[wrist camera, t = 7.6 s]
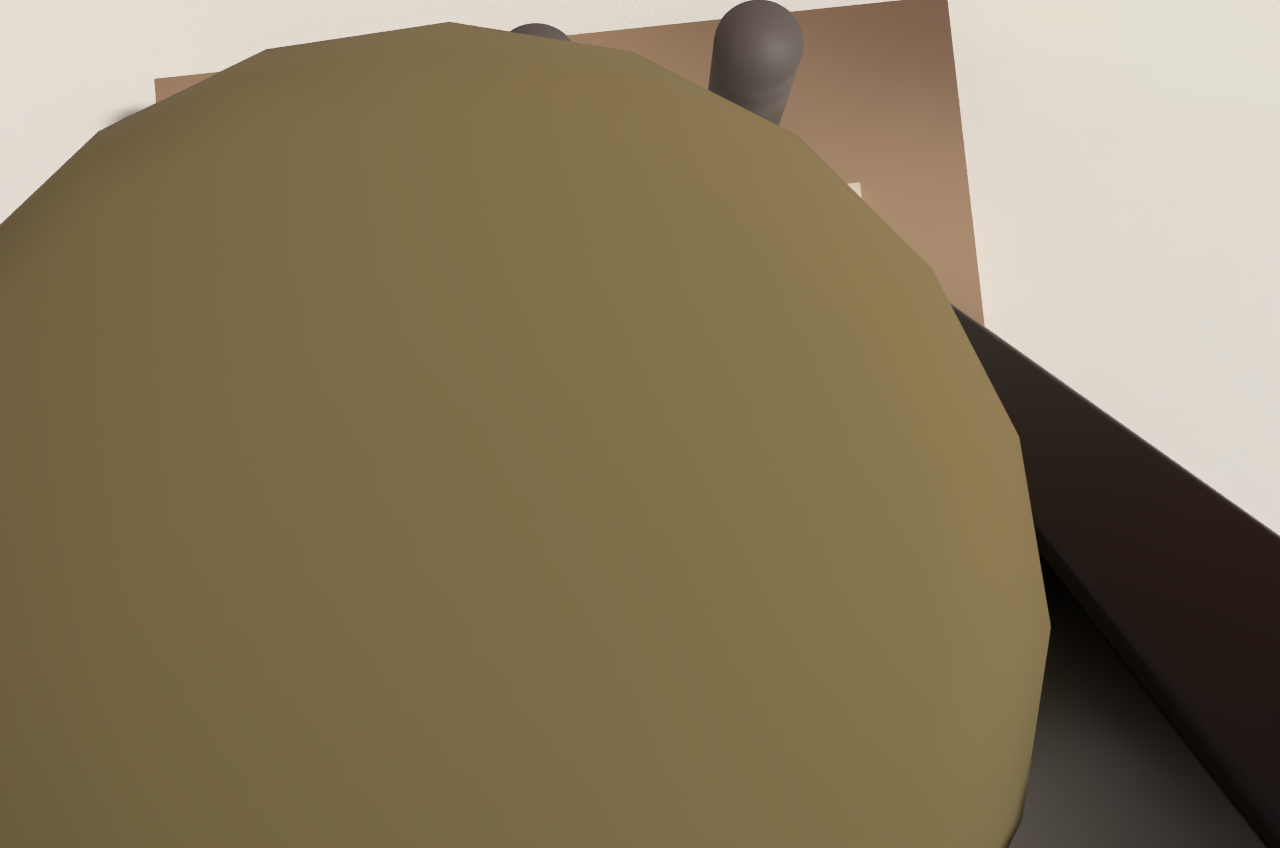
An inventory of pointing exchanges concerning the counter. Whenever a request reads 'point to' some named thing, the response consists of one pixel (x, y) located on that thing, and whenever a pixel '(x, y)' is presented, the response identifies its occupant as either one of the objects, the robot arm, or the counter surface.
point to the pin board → (834, 106)
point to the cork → (495, 477)
